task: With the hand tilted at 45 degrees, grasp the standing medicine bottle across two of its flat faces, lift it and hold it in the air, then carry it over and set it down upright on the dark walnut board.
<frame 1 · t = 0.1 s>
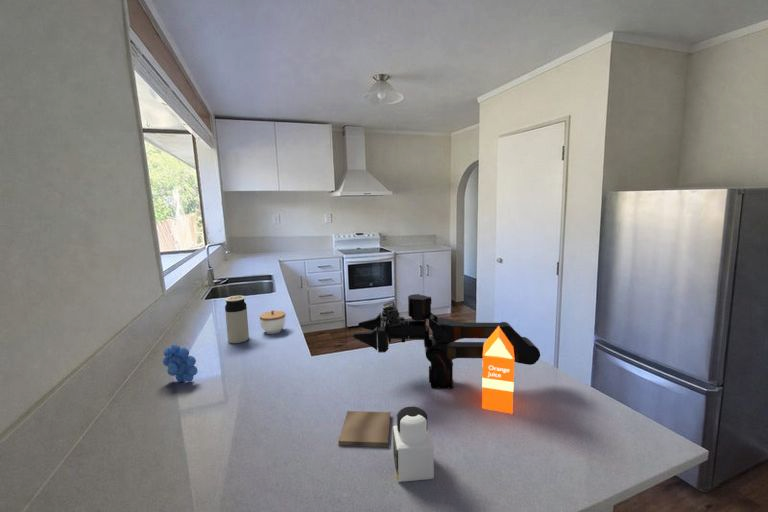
hand: (356, 329, 98), 17 cm above the countertop, tool horizontal, fingers open, 9 cm apart
walnut board: (366, 429, 78), on the countertop
grapes: (179, 383, 102), on the countertop
lidded jar: (273, 331, 145), on the countertop
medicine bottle: (412, 468, 67), on the countertop
travel mug: (238, 340, 135), on the countertop
orange juice: (496, 402, 89), on the countertop
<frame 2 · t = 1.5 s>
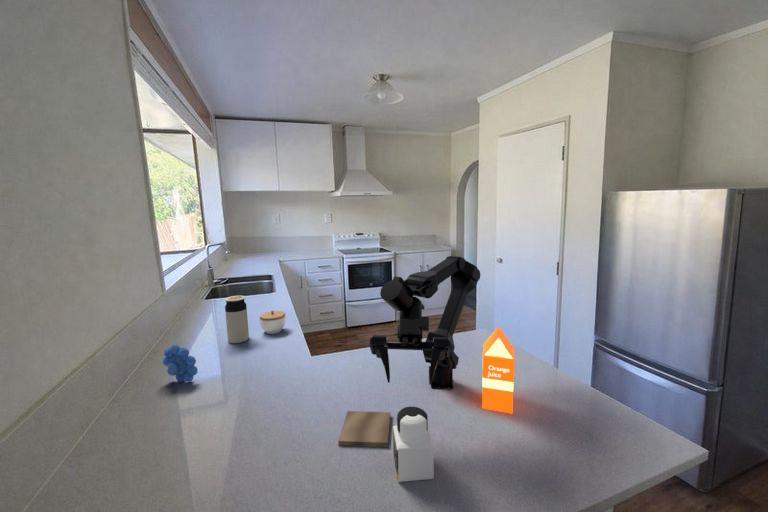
hand: (409, 383, 72), 14 cm above the countertop, tool tilted 45°, fingers open, 9 cm apart
nothing on the countertop moved.
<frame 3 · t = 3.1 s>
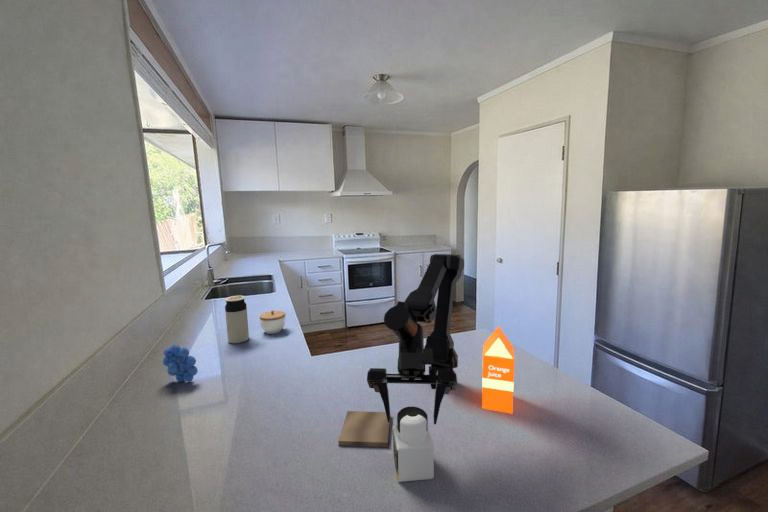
hand: (411, 423, 65), 10 cm above the countertop, tool tilted 45°, fingers open, 9 cm apart
nothing on the countertop moved.
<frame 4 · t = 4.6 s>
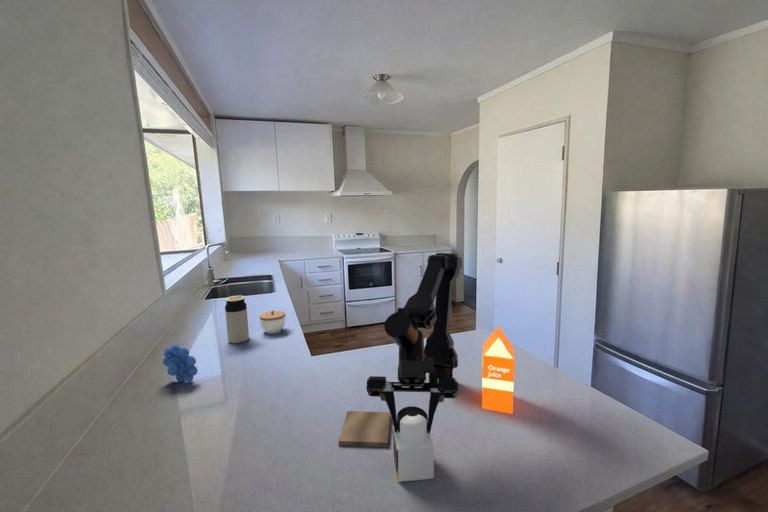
hand: (412, 433, 64), 9 cm above the countertop, tool tilted 45°, fingers closed on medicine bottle, 6 cm apart
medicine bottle: (412, 467, 67), on the countertop, touching gripper
everything else where it was.
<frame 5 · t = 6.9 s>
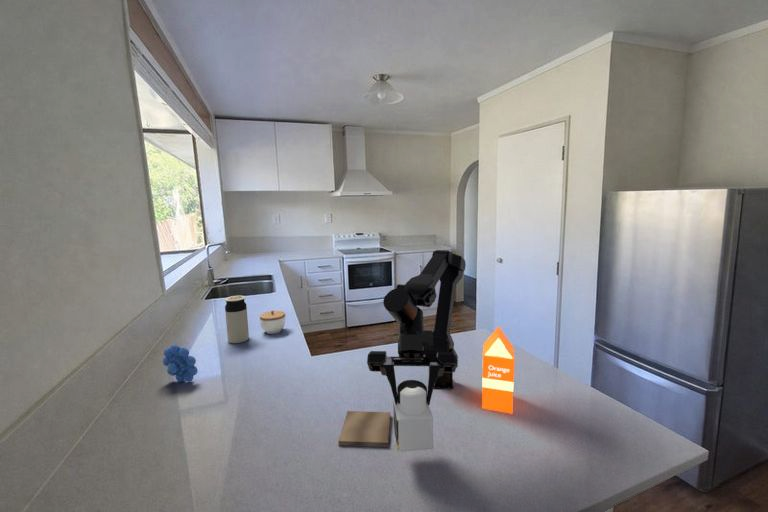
hand: (412, 404, 65), 13 cm above the countertop, tool tilted 45°, fingers closed on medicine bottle, 6 cm apart
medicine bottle: (412, 439, 68), point 4 cm above the countertop, touching gripper
everything else where it was.
when the fingers open (11 cm above the countertop, at t = 9.7 s): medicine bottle drops 1 cm, resting on walnut board.
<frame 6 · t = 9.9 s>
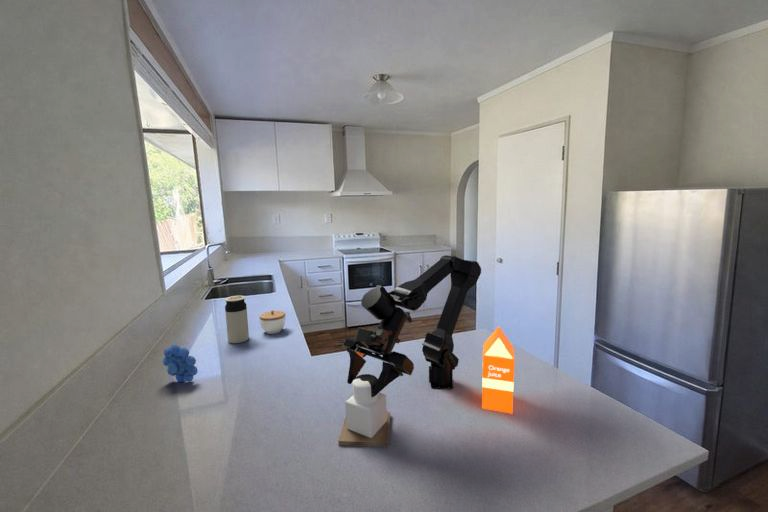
hand: (360, 388, 76), 11 cm above the countertop, tool tilted 45°, fingers open, 8 cm apart
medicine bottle: (367, 426, 78), point 1 cm above the countertop, touching walnut board
everything else where it was.
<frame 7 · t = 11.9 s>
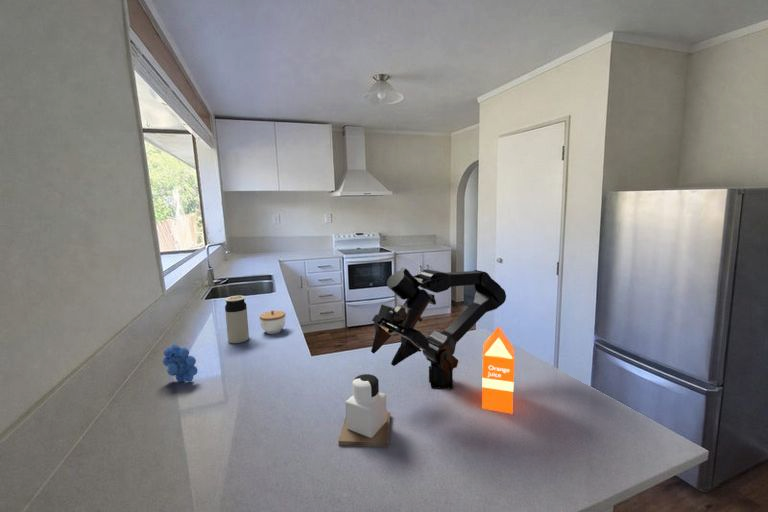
hand: (381, 358, 85), 14 cm above the countertop, tool tilted 45°, fingers open, 9 cm apart
nothing on the countertop moved.
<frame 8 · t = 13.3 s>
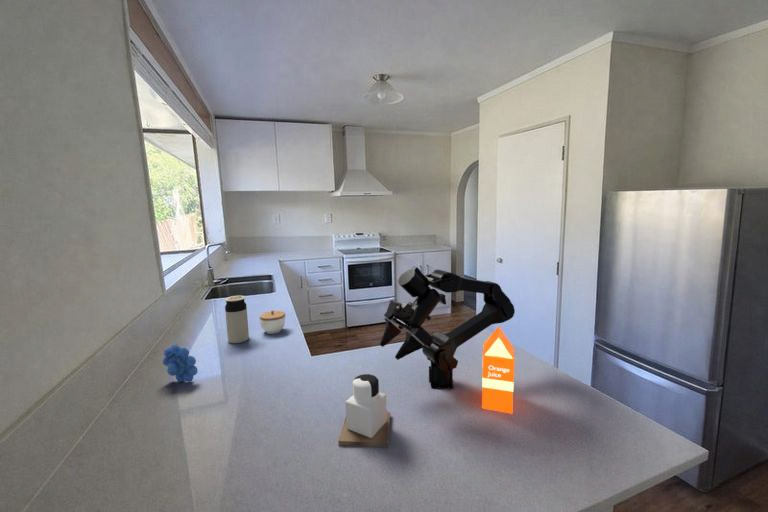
hand: (388, 352, 89), 14 cm above the countertop, tool tilted 45°, fingers open, 9 cm apart
nothing on the countertop moved.
at the end: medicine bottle inside the target area on the walnut board (0.2 cm from its centre), point 0.8 cm above the walnut board's base; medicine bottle tilted 0°; the gripper is holding nothing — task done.
